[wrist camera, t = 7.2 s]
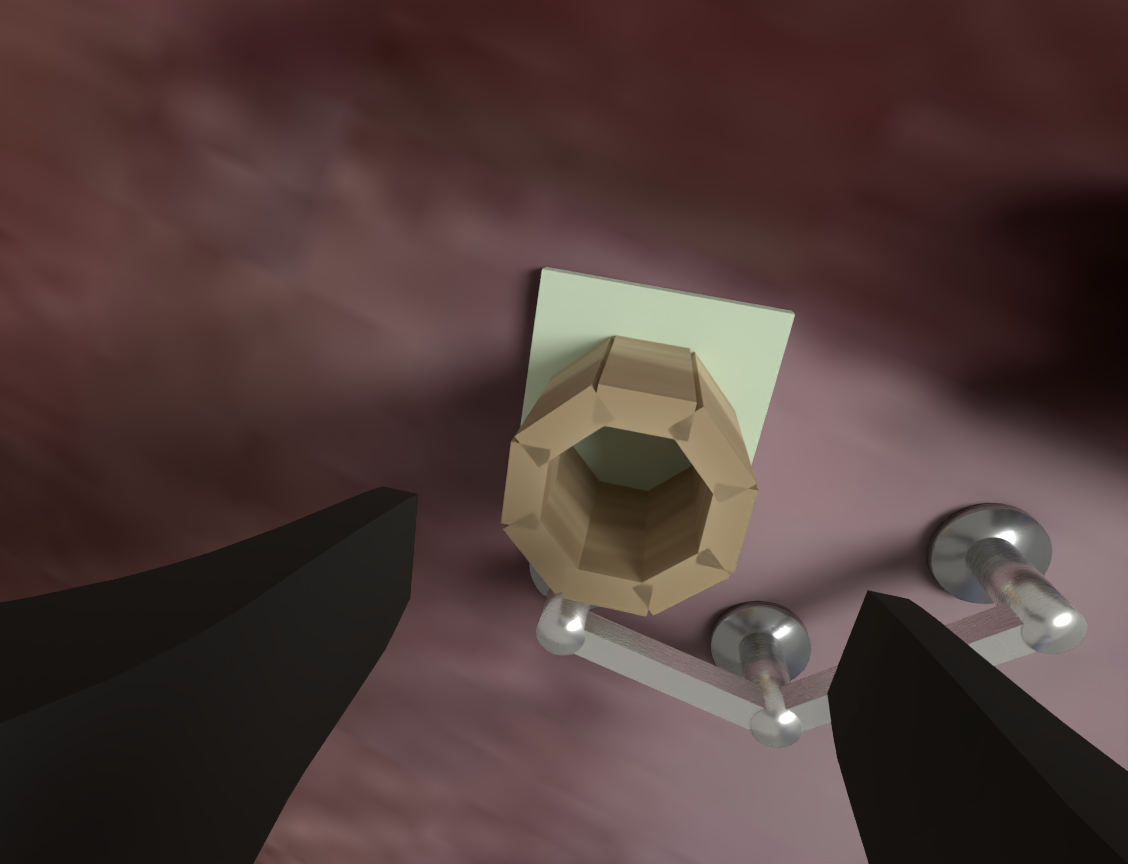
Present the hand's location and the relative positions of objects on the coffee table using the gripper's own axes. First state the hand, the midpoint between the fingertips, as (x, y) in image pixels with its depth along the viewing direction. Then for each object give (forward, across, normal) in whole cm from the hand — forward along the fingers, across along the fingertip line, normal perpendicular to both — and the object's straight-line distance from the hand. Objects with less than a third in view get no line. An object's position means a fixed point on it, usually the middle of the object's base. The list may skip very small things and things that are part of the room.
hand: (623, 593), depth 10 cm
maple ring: (+9, 0, +1) cm, 9 cm away
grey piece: (+10, -6, +5) cm, 13 cm away
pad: (+10, 0, 0) cm, 10 cm away
